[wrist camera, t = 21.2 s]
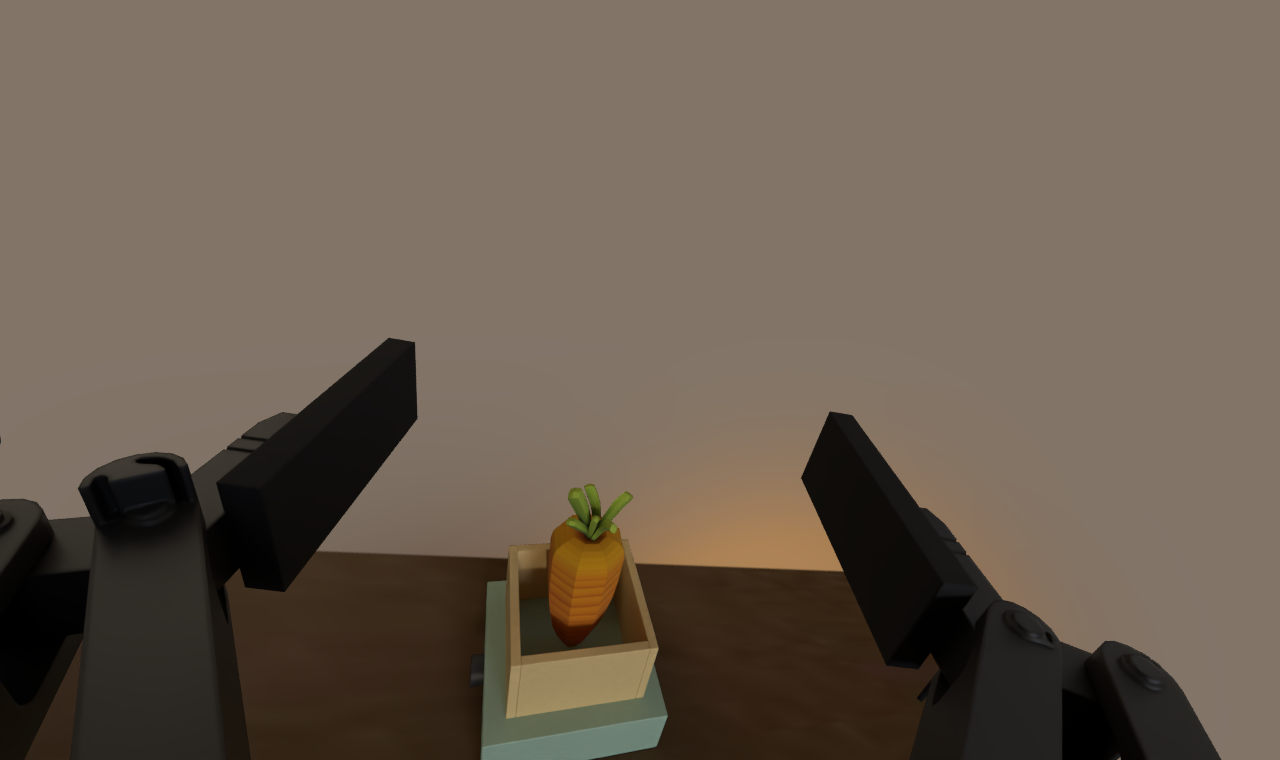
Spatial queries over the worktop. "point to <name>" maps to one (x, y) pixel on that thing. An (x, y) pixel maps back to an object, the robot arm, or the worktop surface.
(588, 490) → the carrot
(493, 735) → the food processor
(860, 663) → the worktop surface
